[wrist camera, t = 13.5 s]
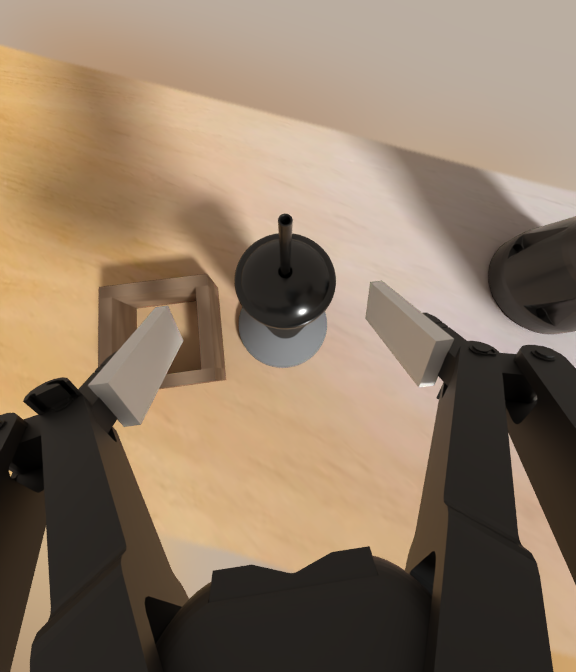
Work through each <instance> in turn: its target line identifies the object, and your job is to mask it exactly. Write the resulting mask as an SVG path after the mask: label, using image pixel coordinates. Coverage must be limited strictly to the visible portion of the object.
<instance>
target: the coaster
mask: <svg viewBox="0 0 576 672" xmlns="http://www.w3.org/2000/svg"><path fill="white" fill-rule="evenodd" d="M326 330H327V319H326V314H325V311H324V313H323V314H322V315H321V316H320V317H319V318H317V319H316V320H315V321H313V322H311V323H310V324H308V325H306V326H305V327H304V328H303V329H302V330H301V331H300V332H299V333H298V334H297V335H295V336H294V337H291V338H287V339H284V338H279V337H277V336H275V335H274V334H273V333H272V332H271V331H270V330H269V329H268V328H267V327H266V326H265V325H263V324H261V323H259V322H258V321H256V320H255V319H253V318H252V317H251V316H250V315H249V314H248V313H247V312H246V311H245V309H244V308H243V307H242V309H241V312H240V316H239V333H240V337H241V340H242V342H243V344H244V346H245V347H246V349H247V350H248V352H249V353H250V354H251V355H252V356H253V357H254V358H256V359H257V360H259V361H260V362H262V363H264V364H266V365H269V366H273V367H279V368H286V367H293V366H296V365H299V364H301V363H303V362H305V361H307V360H308V359H310V358H311V357H312V356H313V355H314V354H315V353H316V352H317V351H318V350H319V348H320V347H321V345H322V343H323V341H324V338H325V335H326Z"/></svg>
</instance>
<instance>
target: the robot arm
mask: <svg viewBox="0 0 576 672" xmlns="http://www.w3.org/2000/svg"><path fill="white" fill-rule="evenodd" d="M489 284H490V288H491V291H492V294H493V296H494V298H495V300H496V302H497V304H498V305H499V307H500V308H501V309H502V311H503V312H504V313H505V314H506V315H507V316H508V317H509V318H510V319H512V320H513V321H514V322H516V323H517V324H519V325H520V326H522V327H524V328H526V329H528V330H531V331H534V332H537V333H542V334H560V333H567V332H573V331H576V216H575V217H572V218H568V219H565V220H562V221H558V222H555V223H552V224H548V225H545V226H542V227H538V228H535V229H532V230H529V231H527V232H524V233H522V234H520V235H519V236H517V237H515V238H513V239H512V240H510V241H508V242H507V243H505V244H504V245H502V246H501V247H500V248H499V249H498V250H497V252H496V253H495V254H494V256H493V258H492V260H491V263H490V267H489ZM365 319H366V320H367V321H368V322H369V324H370V325H371V326H372V328H373V329H374V330H375V331H376V333H377V334H378V335H379V337H380V338H381V339H382V341H383V342H384V343H385V344H386V346H387V347H388V348H389V350H390V351H391V352H392V354H393V355H394V356H395V357H396V359H397V360H398V361H399V363H400V364H401V365H402V366H403V368H404V369H405V370H406V372H407V373H408V374H409V376H410V377H411V378H412V379H413V381H414V382H415V383H416V385H417V386H418V387H425V386H433V385H435V382H436V380H437V378H438V376H439V377H440V378H441V379H442V381H443V382H444V383H443V385H442V387H441V389H440V391H439V394H438V396H437V399H439V403H438V409H437V414H436V420H435V426H434V431H433V437H432V443H431V448H430V454H429V459H428V465H427V471H426V476H425V482H424V487H423V493H422V499H421V504H420V510H419V516H418V521H417V527H416V532H415V536H414V539H413V542H412V545H411V547H410V551H409V554H408V559H407V563H406V568H405V571H404V570H403V569H402V568H400V567H399V566H397V565H395V564H393V563H391V562H389V561H387V560H385V559H382V558H379V557H376V556H372V553H371V550H370V547H362V548H356V549H349V550H343V551H337V552H331V553H330V554H328V555H326V556H324V557H322V558H321V559H319V560H317V561H315V562H314V563H312V564H310V565H308V566H307V567H305V568H303V569H301V570H300V571H298V572H296V573H286V572H282V571H277V570H273V569H268V568H264V567H259V566H255V565H247V566H241V567H235V568H228V569H222V570H215V571H213V574H212V581H211V582H210V583H208V584H207V585H205V586H204V587H203V588H201V589H200V590H199V591H197V592H196V593H195V594H194V595H193V596H192V597H191V598H190V599H189V598H188V596H187V594H186V592H185V590H184V588H183V586H182V585H181V583H180V582H179V581H178V579H177V578H176V577H175V575H174V573H173V572H172V570H171V567H170V565H169V562H168V560H167V557H166V555H165V552H164V550H163V547H162V545H161V542H160V539H159V537H158V534H157V532H156V529H155V527H154V524H153V522H152V519H151V517H150V514H149V512H148V509H147V507H146V504H145V502H144V499H143V497H142V494H141V492H140V489H139V486H138V484H137V481H136V479H135V476H134V474H133V471H132V469H131V466H130V464H129V461H128V459H127V456H126V454H125V451H124V449H123V446H122V444H121V441H120V439H119V436H118V434H117V431H116V430H115V429H114V428H113V427H112V426H113V425H114V423H115V422H116V420H117V419H118V421H119V422H120V423H121V424H122V425H123V426H124V427H126V426H134V425H141V423H142V421H143V419H144V417H145V415H146V413H147V411H148V409H149V408H150V406H151V404H152V402H153V400H154V398H155V396H156V394H157V392H158V390H159V388H160V386H161V384H162V382H163V380H164V378H165V376H166V374H167V372H168V370H169V368H170V366H171V364H172V362H173V360H174V358H175V356H176V354H177V352H178V350H179V348H180V346H181V344H182V342H183V339H182V337H181V334H180V332H179V330H178V327H177V325H176V323H175V321H174V318H173V316H172V314H171V312H170V309H169V307H168V306H162V307H155V309H154V310H153V311H152V312H151V313H150V314H149V316H148V317H147V318H146V319H145V320H144V321H143V322H142V324H141V325H140V326H139V327H138V328H137V329H136V331H135V332H134V333H133V334H132V335H131V336H130V337H129V339H128V340H127V341H126V342H125V343H124V344H123V345H122V347H121V348H120V349H119V350H118V351H116V352H114V353H113V354H112V355H110V356H109V357H107V358H106V359H105V360H104V361H103V363H102V364H101V365H100V367H98V368H97V369H96V370H95V373H93V374H92V375H91V376H90V377H89V378H88V379H87V380H86V382H85V383H84V384H83V385H82V386H81V387H80V388H79V389H77V388H76V387H75V386H74V385H73V384H72V383H71V381H70V380H69V379H68V378H57V379H53V380H50V381H48V382H45V383H43V384H41V385H40V386H38V387H36V388H35V389H33V390H32V391H31V392H29V394H28V395H27V396H26V397H25V398H24V401H23V402H24V403H26V404H27V405H28V406H29V407H30V408H31V409H33V410H34V411H35V412H36V413H37V414H39V415H36V416H33V417H30V418H27V419H24V420H23V419H22V418H21V417H19V416H18V415H17V414H15V413H6V414H3V415H0V672H10V669H11V665H12V661H13V657H14V653H15V649H16V645H17V641H18V637H19V633H20V628H21V625H22V621H23V617H24V613H25V609H26V604H27V600H28V596H29V592H30V588H31V584H32V580H33V576H34V571H35V568H36V564H37V560H38V555H39V551H40V548H41V543H42V539H43V535H44V531H45V527H46V529H47V546H48V562H49V563H48V564H49V582H50V598H51V599H50V600H51V614H50V618H49V620H48V622H47V623H46V624H45V625H44V626H43V627H42V628H41V629H40V630H39V631H38V632H37V634H36V636H35V639H34V641H33V644H32V648H31V657H30V672H553V666H552V659H551V651H550V644H549V637H548V630H547V623H546V616H545V609H544V602H543V595H542V588H541V581H540V575H539V571H538V567H537V563H536V561H535V559H534V557H533V555H532V553H530V552H529V551H528V550H527V549H526V548H524V547H523V546H522V545H521V542H520V540H519V536H518V528H517V517H516V507H515V497H514V487H513V477H512V467H511V457H510V447H509V437H508V433H509V435H510V437H511V439H512V442H513V444H514V446H515V448H516V451H517V453H518V455H519V457H520V460H521V462H522V464H523V466H524V469H525V471H526V473H527V476H528V478H529V480H530V482H531V485H532V487H533V489H534V491H535V494H536V496H537V498H538V500H539V503H540V505H541V507H542V509H543V512H544V514H545V516H546V519H547V521H548V523H549V525H550V528H551V530H552V532H553V534H554V537H555V539H556V541H557V543H558V546H559V548H560V550H561V552H562V555H563V557H564V559H565V561H566V564H567V566H568V568H569V571H570V573H571V575H572V577H573V580H574V582H575V584H576V368H575V367H574V366H573V365H572V364H571V363H570V362H569V361H568V360H567V359H566V358H565V357H564V356H563V355H561V354H560V353H558V352H556V351H554V350H553V349H550V348H547V347H544V346H537V345H525V346H522V347H521V348H520V350H519V351H518V353H517V354H507V353H499V351H497V350H496V349H495V348H494V347H492V346H490V345H488V344H485V343H482V342H476V341H466V340H465V339H464V338H462V337H461V336H460V335H459V334H457V333H456V332H455V331H453V330H452V329H451V328H448V326H447V325H445V324H444V323H442V321H440V320H439V319H438V318H436V317H435V316H432V315H430V314H428V313H421V312H420V311H419V310H418V309H416V308H415V307H414V306H413V305H411V304H410V303H409V302H408V301H406V300H405V299H404V298H403V297H401V296H400V295H399V294H398V293H396V292H395V291H394V290H393V289H392V288H390V287H389V286H388V285H387V284H385V283H384V282H383V281H375V282H370V288H369V295H368V303H367V310H366V317H365ZM9 470H10V471H12V472H13V473H12V475H11V477H10V474H9Z"/></svg>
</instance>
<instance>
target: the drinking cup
mask: <svg viewBox="0 0 576 672" xmlns="http://www.w3.org/2000/svg"><path fill="white" fill-rule="evenodd" d="M292 222H293V219H292V217H291V216H290V215H289V214H282V215H280V216H279V218H278V228H279V233H278V234H273V235H269V236H266V237H264V238H262V239H260V240H258V241H256V242H255V243H254V244H252V245H251V246H250V247H249V248H248V249H247V250H246V251H245V252H244V254H243V255H242V257H241V259H240V260H239V263H238V265H237V268H236V272H235V290H236V294H237V297H238V299H239V301H240V303H241V305H242V307H243V308H244V309H245V311H246V312H247V313H248V314H249V315H250V316H251V317H252V318H253V319H255V320H256V321H258V322H259V323H261V324H263V325H265V326H266V327H267V328H268V329H269V330H270V331H271V332H272V333H273V334H274V335H275V336H277V337H279V338H284V339H287V338H291V337H294V336H295V335H297V334H298V333H299V332H300V331H301V330H302V329H303V328H304V327H305V326H306V325H308V324H310V323H311V322H313V321H315V320H316V319H317V318H319V317H320V316H321V315H322V314H323V313H324V311H325V310H326V309H327V307H328V306H329V304H330V303H331V301H332V298H333V295H334V292H335V287H336V276H335V270H334V267H333V264H332V262H331V260H330V258H329V256H328V255H327V253H326V252H325V251H324V250H323V249H322V248H321V247H320V246H319V245H318V244H317V243H315V242H314V241H312V240H310V239H309V238H306V237H304V236H301V235H297V234H292Z"/></svg>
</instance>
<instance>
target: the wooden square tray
mask: <svg viewBox="0 0 576 672" xmlns="http://www.w3.org/2000/svg"><path fill="white" fill-rule="evenodd" d="M191 301H197V315H198V329H199V343H200V357H201V369H200V370H193V371H186V372H179V373H171V374H166V376H165V378H164V380H163V382H162V384H161V386H160V388H159V389H164V388H171V387H179V386H186V385H193V384H200V383H207V382H214V381H222V380H226V373H225V362H224V350H223V339H222V328H221V317H220V305H219V294H218V287H217V286H216V285H215V284H214V282H213V281H212V280H211V278H210V277H209V276H208V275H207V274H202V275H194V276H186V277H178V278H169V279H161V280H153V281H145V282H137V283H128V284H120V285H112V286H104V287H99V326H98V367H100V365H101V364H102V363H103V361H104V360H105V359H106V358H107V357H109V356H110V355H112V354H113V353H114V352H116V351H118V350H119V349H120V348H121V347H122V345H123V344H124V343H125V342H126V341H127V340H128V339H129V337H130V336H131V335H132V334H133V333H134V332H135V331H136V329H137V310H136V308H143V307H151V306H159V305H167V304H175V303H183V302H191Z"/></svg>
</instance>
